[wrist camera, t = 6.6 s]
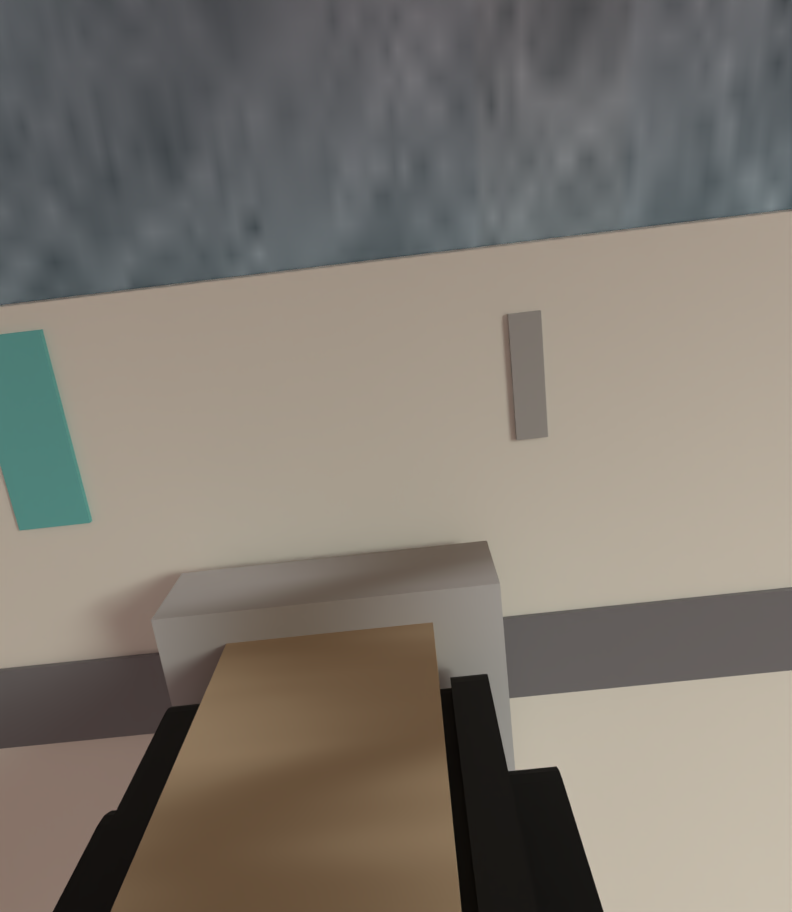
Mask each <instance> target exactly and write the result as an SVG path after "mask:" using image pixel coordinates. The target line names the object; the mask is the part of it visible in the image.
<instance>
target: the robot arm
mask: <svg viewBox="0 0 792 912" xmlns="http://www.w3.org/2000/svg"><path fill="white" fill-rule="evenodd" d="M450 680H451V688H446V689H440V695H441V706H442V716H443V726H444V736H445V746H446V757H447V767H448V777H449V787H450V797H451V807H452V818H453V828H454V838H455V848H456V858H457V869H458V879H459V889H460V899H461V909H462V912H604V911H603V908H602V905H601V902H600V898H599V895H598V892H597V889H596V886H595V882H594V879H593V876H592V873H591V869H590V866H589V863H588V860H587V857H586V853H585V850H584V847H583V844H582V840H581V837H580V834H579V831H578V828H577V824H576V821H575V818H574V815H573V811H572V808H571V805H570V802H569V799H568V795H567V792H566V789H565V786H564V783H563V779H562V777H561V774H560V771H559V769H558V768H557V766H555V767H545V768H535V769H525V770H515V771H508V768H507V763H506V758H505V754H504V749H503V744H502V739H501V735H500V730H499V725H498V720H497V716H496V711H495V706H494V702H493V697H492V692H491V687H490V683H489V678H488V674H479V675H469V676H459V677H450ZM199 706H200V704H192V705H182V706H173V707H170V708H168V709H167V711H166V712H165V714H164V716H163V718H162V720H161V722H160V724H159V726H158V728H157V730H156V732H155V734H154V736H153V738H152V740H151V742H150V744H149V746H148V748H147V750H146V752H145V754H144V756H143V758H142V760H141V762H140V764H139V766H138V768H137V770H136V772H135V774H134V776H133V778H132V780H131V782H130V784H129V786H128V788H127V790H126V792H125V794H124V796H123V798H122V800H121V802H120V804H119V806H118V808H117V810H112V811H110V812H108V813H107V814H105V815H104V816H103V818H102V819H101V821H100V822H99V824H98V825H97V827H96V829H95V831H94V833H93V835H92V837H91V839H90V841H89V843H88V844H87V846H86V848H85V850H84V852H83V854H82V856H81V858H80V860H79V862H78V864H77V866H76V868H75V869H74V871H73V873H72V875H71V877H70V879H69V881H68V883H67V885H66V887H65V889H64V891H63V893H62V895H61V896H60V898H59V900H58V902H57V904H56V906H55V908H54V910H53V912H111V909H112V907H113V905H114V902H115V900H116V898H117V895H118V893H119V891H120V889H121V886H122V884H123V882H124V879H125V877H126V875H127V872H128V870H129V868H130V865H131V863H132V861H133V858H134V856H135V854H136V852H137V849H138V847H139V845H140V842H141V840H142V838H143V835H144V833H145V831H146V828H147V826H148V824H149V821H150V819H151V817H152V814H153V812H154V810H155V808H156V805H157V803H158V801H159V798H160V796H161V794H162V791H163V789H164V787H165V784H166V782H167V780H168V777H169V775H170V773H171V771H172V768H173V766H174V764H175V761H176V759H177V757H178V754H179V752H180V750H181V747H182V745H183V743H184V740H185V738H186V736H187V733H188V731H189V729H190V727H191V724H192V722H193V720H194V717H195V715H196V713H197V710H198V708H199Z"/></svg>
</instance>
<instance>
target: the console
mask: <svg viewBox="0 0 792 912" xmlns="http://www.w3.org/2000/svg"><path fill="white" fill-rule="evenodd" d="M478 541H487V543H488V546H489V550H490V553H491V556H492V559H493V562H494V566H495V569H496V572H497V575H498V579H499V582H500V589H501V602H502V614H503V626H504V638H505V651H506V663H507V675H508V688H509V700H510V712H511V724H512V737H513V749H514V761H515V770H525V769H535V768H545V767H555V766H557V768H558V769H559V771H560V774H561V777H562V779H563V783H564V786H565V789H566V792H567V795H568V799H569V802H570V805H571V808H572V811H573V815H574V818H575V821H576V824H577V828H578V831H579V834H580V837H581V840H582V844H583V847H584V850H585V853H586V857H587V860H588V863H589V866H590V869H591V873H592V876H593V879H594V882H595V886H596V889H597V892H598V895H599V898H600V902H601V905H602V908H603V911H604V912H792V209H787V210H779V211H771V212H763V213H754V214H746V215H738V216H730V217H721V218H713V219H705V220H697V221H689V222H680V223H672V224H664V225H656V226H647V227H639V228H631V229H623V230H614V231H606V232H598V233H590V234H582V235H573V236H565V237H557V238H549V239H540V240H532V241H524V242H516V243H507V244H499V245H491V246H483V247H475V248H466V249H458V250H450V251H442V252H433V253H425V254H417V255H409V256H401V257H392V258H384V259H376V260H368V261H359V262H351V263H343V264H335V265H326V266H318V267H310V268H302V269H294V270H285V271H277V272H269V273H261V274H252V275H244V276H236V277H228V278H219V279H211V280H203V281H195V282H187V283H178V284H170V285H162V286H154V287H145V288H137V289H129V290H121V291H112V292H104V293H96V294H88V295H80V296H71V297H63V298H55V299H47V300H38V301H30V302H22V303H14V304H5V305H0V912H53V910H54V908H55V906H56V904H57V902H58V900H59V898H60V896H61V895H62V893H63V891H64V889H65V887H66V885H67V883H68V881H69V879H70V877H71V875H72V873H73V871H74V869H75V868H76V866H77V864H78V862H79V860H80V858H81V856H82V854H83V852H84V850H85V848H86V846H87V844H88V843H89V841H90V839H91V837H92V835H93V833H94V831H95V829H96V827H97V825H98V824H99V822H100V821H101V819H102V818H103V816H104V815H105V814H107V813H108V812H110V811H112V810H117V808H118V806H119V804H120V802H121V800H122V798H123V796H124V794H125V792H126V790H127V788H128V786H129V784H130V782H131V780H132V778H133V776H134V774H135V772H136V770H137V768H138V766H139V764H140V762H141V760H142V758H143V756H144V754H145V752H146V750H147V748H148V746H149V744H150V742H151V740H152V738H153V736H154V734H155V732H156V730H157V728H158V726H159V724H160V722H161V720H162V718H163V716H164V714H165V712H166V711H167V709H168V708H170V707H172V704H171V700H170V696H169V692H168V688H167V684H166V679H165V675H164V671H163V667H162V663H161V659H160V655H159V651H158V647H157V643H156V639H155V634H154V630H153V626H152V622H151V619H152V618H153V616H154V615H155V613H156V612H157V610H158V609H159V607H160V606H161V604H162V603H163V601H164V600H165V598H166V597H167V595H168V594H169V592H170V591H171V589H172V588H173V586H174V585H175V583H176V582H177V580H178V579H179V577H180V576H181V574H182V573H188V572H197V571H207V570H216V569H225V568H235V567H244V566H253V565H263V564H272V563H281V562H291V561H300V560H309V559H319V558H328V557H337V556H347V555H356V554H365V553H375V552H384V551H394V550H403V549H412V548H422V547H431V546H440V545H450V544H459V543H468V542H478Z"/></svg>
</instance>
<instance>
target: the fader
mask: <svg viewBox="0 0 792 912" xmlns="http://www.w3.org/2000/svg"><path fill="white" fill-rule="evenodd" d="M151 622H152V626H153V630H154V634H155V639H156V643H157V647H158V651H159V655H160V659H161V663H162V667H163V671H164V675H165V679H166V684H167V688H168V692H169V696H170V700H171V704H172V707H173V706H182V705H192V704H200V706H199V708H198V710H197V713H196V715H195V717H194V720H193V722H192V724H191V727H190V729H189V731H188V733H187V736H186V738H185V740H184V743H183V745H182V747H181V750H180V752H179V754H178V757H177V759H176V761H175V764H174V766H173V768H172V771H171V773H170V775H169V777H168V780H167V782H166V784H165V787H164V789H163V791H162V794H161V796H160V798H159V801H158V803H157V805H156V808H155V810H154V812H153V814H152V817H151V819H150V821H149V824H148V826H147V828H146V831H145V833H144V835H143V838H142V840H141V842H140V845H139V847H138V849H137V852H136V854H135V856H134V858H133V861H132V863H131V865H130V868H129V870H128V872H127V875H126V877H125V879H124V882H123V884H122V886H121V889H120V891H119V893H118V895H117V898H116V900H115V902H114V905H113V907H112V909H111V912H462V909H461V899H460V889H459V879H458V869H457V858H456V848H455V838H454V828H453V818H452V807H451V797H450V787H449V777H448V767H447V757H446V746H445V736H444V726H443V716H442V706H441V695H440V689H446V688H451V680H450V677H459V676H469V675H479V674H488V678H489V683H490V687H491V692H492V697H493V702H494V706H495V711H496V716H497V720H498V725H499V730H500V735H501V739H502V744H503V749H504V754H505V758H506V763H507V768H508V771H515V761H514V749H513V737H512V724H511V712H510V700H509V688H508V675H507V663H506V651H505V638H504V626H503V614H502V602H501V589H500V582H499V579H498V575H497V572H496V569H495V566H494V562H493V559H492V556H491V553H490V550H489V546H488V543H487V541H478V542H468V543H459V544H450V545H440V546H431V547H422V548H412V549H403V550H394V551H384V552H375V553H365V554H356V555H347V556H337V557H328V558H319V559H309V560H300V561H291V562H281V563H272V564H263V565H253V566H244V567H235V568H225V569H216V570H207V571H197V572H188V573H182V574H181V576H180V577H179V579H178V580H177V582H176V583H175V585H174V586H173V588H172V589H171V591H170V592H169V594H168V595H167V597H166V598H165V600H164V601H163V603H162V604H161V606H160V607H159V609H158V610H157V612H156V613H155V615H154V616H153V618H152V619H151Z"/></svg>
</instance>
